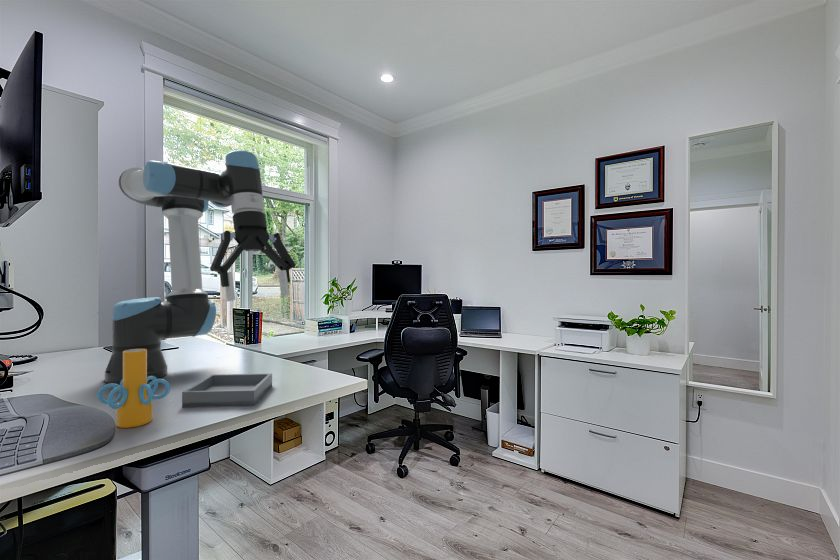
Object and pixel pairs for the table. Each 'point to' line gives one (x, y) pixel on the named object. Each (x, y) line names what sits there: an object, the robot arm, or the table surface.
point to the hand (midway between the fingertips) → (259, 298)
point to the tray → (227, 390)
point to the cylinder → (133, 391)
